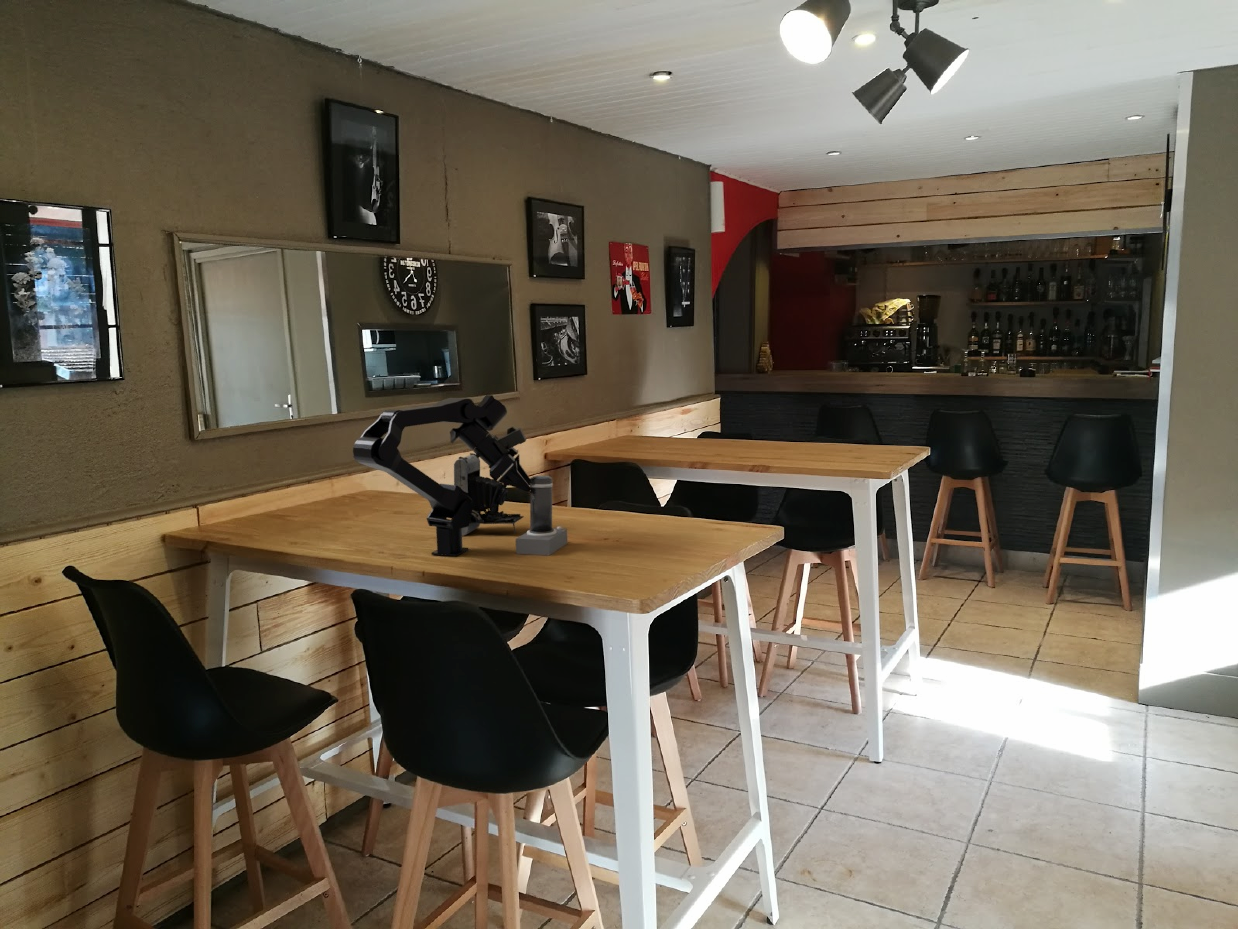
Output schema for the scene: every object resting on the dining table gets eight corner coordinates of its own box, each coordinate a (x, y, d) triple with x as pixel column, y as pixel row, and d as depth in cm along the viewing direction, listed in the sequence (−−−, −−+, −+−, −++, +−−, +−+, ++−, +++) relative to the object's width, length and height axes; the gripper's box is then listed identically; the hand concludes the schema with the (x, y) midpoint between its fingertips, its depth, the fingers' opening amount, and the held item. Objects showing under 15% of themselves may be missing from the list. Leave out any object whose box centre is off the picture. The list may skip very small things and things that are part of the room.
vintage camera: (513, 539, 219) (513, 459, 216) (453, 536, 222) (452, 456, 219) (524, 531, 228) (524, 454, 226) (467, 528, 231) (467, 452, 228)
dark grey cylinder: (548, 532, 202) (548, 478, 201) (526, 531, 204) (526, 477, 202) (555, 528, 207) (555, 475, 206) (534, 526, 209) (534, 474, 207)
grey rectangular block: (549, 555, 199) (548, 536, 199) (516, 553, 202) (515, 534, 201) (567, 543, 211) (566, 525, 210) (535, 542, 213) (535, 524, 212)
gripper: (502, 420, 198) (553, 467, 200) (507, 413, 216) (554, 457, 218) (468, 456, 198) (519, 503, 201) (476, 446, 217) (523, 490, 219)
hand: (530, 487), depth 210 cm, fingers open, 9 cm apart
